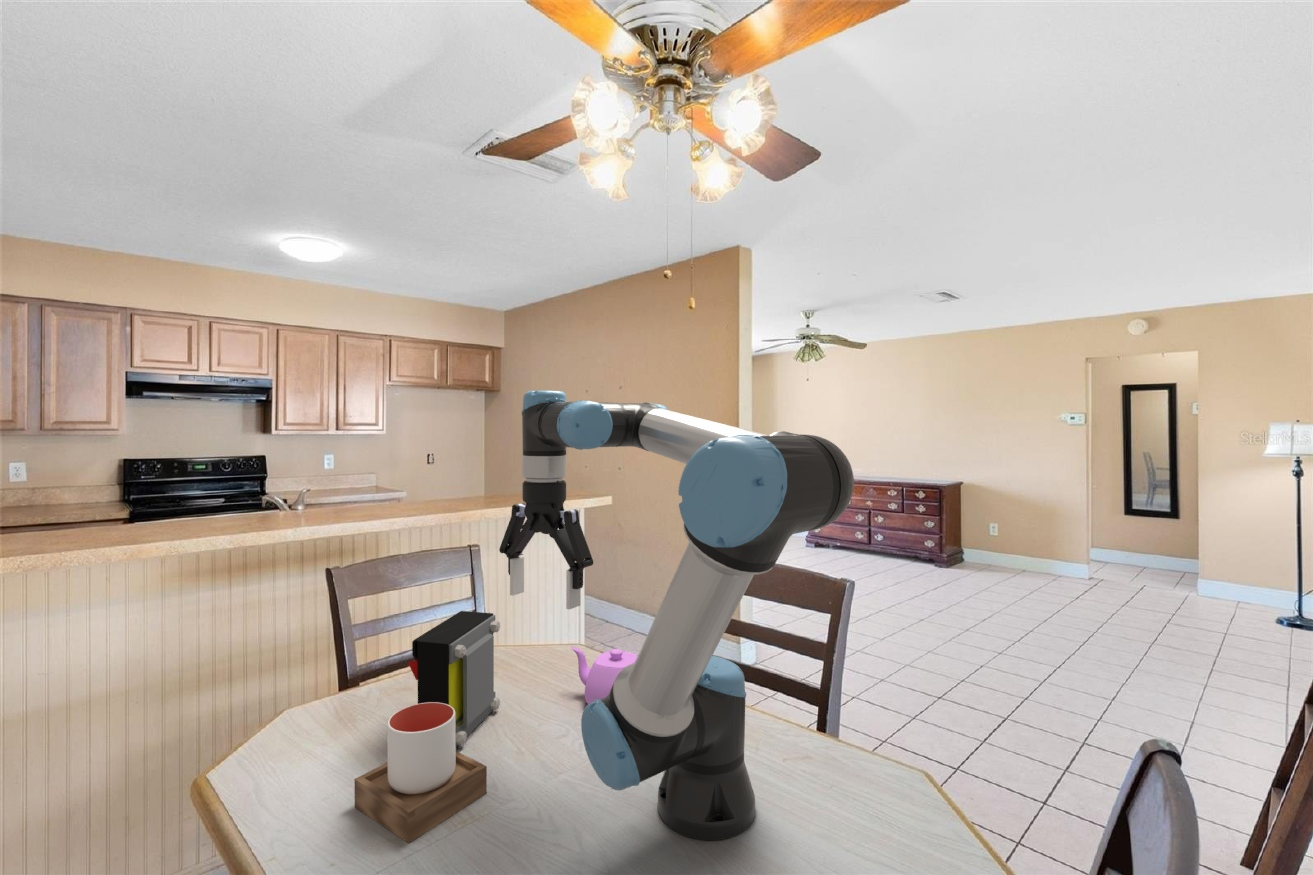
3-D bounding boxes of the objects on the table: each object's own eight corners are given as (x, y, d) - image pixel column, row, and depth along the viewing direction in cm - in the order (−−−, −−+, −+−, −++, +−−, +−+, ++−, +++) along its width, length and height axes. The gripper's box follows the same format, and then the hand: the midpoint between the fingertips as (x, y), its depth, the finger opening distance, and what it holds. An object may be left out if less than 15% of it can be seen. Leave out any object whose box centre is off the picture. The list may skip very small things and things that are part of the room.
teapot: (583, 682, 140) (583, 634, 139) (666, 694, 134) (667, 644, 134) (557, 708, 127) (557, 656, 127) (647, 723, 121) (648, 668, 121)
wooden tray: (486, 793, 98) (486, 766, 98) (408, 843, 87) (408, 812, 86) (432, 765, 106) (432, 739, 106) (354, 807, 94) (354, 779, 94)
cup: (440, 754, 103) (440, 696, 103) (466, 780, 96) (466, 718, 95) (378, 777, 96) (378, 715, 96) (401, 807, 89) (400, 740, 89)
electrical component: (459, 754, 109) (459, 645, 109) (408, 748, 111) (407, 640, 111) (503, 709, 127) (503, 614, 126) (458, 704, 129) (458, 610, 128)
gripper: (614, 482, 102) (613, 607, 103) (511, 473, 116) (511, 584, 117) (584, 486, 96) (584, 619, 97) (479, 476, 110) (479, 593, 110)
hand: (544, 600), depth 107 cm, fingers open, 13 cm apart
